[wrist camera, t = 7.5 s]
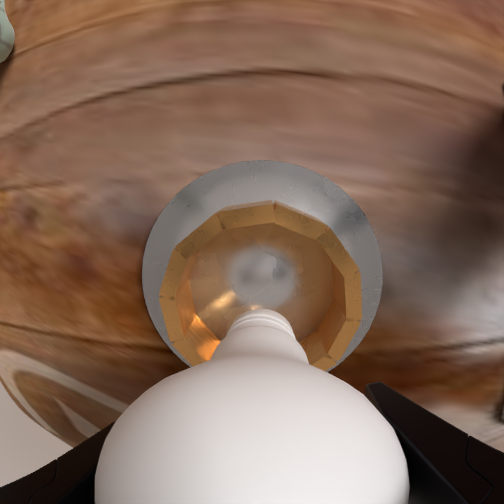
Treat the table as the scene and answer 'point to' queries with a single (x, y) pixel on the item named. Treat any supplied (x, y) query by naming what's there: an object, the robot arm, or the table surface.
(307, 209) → the wooden ring on plate
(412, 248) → the table surface
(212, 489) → the lightbulb
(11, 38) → the robot head
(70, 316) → the table surface
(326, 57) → the table surface
